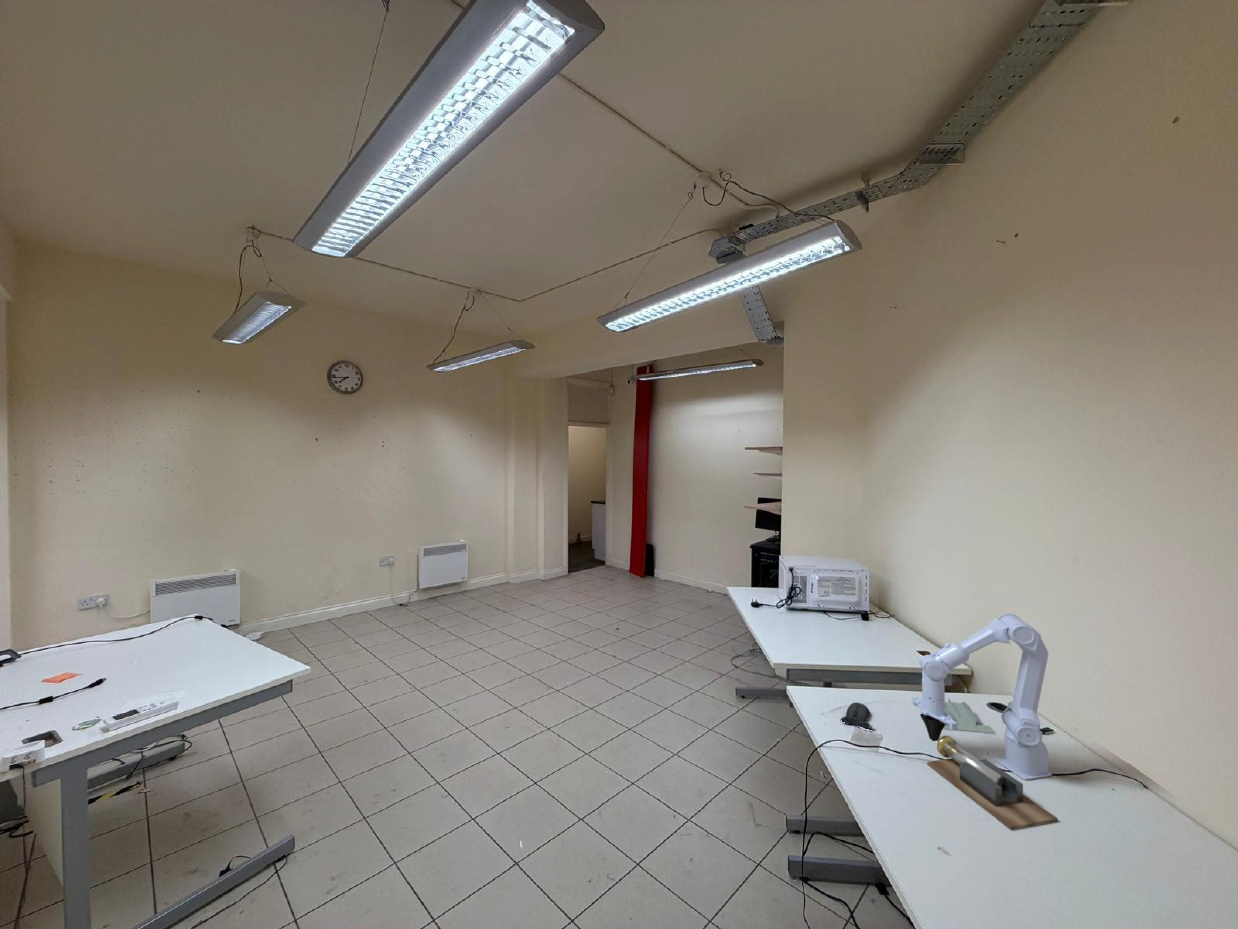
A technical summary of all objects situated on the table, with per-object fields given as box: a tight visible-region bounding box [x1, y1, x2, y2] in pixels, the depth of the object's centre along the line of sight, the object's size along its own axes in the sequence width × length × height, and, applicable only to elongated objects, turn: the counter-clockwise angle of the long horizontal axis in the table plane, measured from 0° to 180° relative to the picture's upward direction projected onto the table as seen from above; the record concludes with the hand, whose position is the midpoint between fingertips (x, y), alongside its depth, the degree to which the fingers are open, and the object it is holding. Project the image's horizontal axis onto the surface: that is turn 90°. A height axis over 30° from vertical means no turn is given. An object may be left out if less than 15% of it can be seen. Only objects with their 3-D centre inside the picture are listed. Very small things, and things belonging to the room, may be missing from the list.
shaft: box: [936, 735, 1004, 787], centre depth 126 cm, size 6×16×6 cm, turn 10°
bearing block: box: [959, 758, 1024, 807], centre depth 120 cm, size 9×10×5 cm
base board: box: [926, 757, 1059, 831], centre depth 121 cm, size 14×24×1 cm, turn 10°
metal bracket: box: [943, 698, 995, 735], centre depth 153 cm, size 14×6×15 cm
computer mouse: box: [839, 702, 874, 731], centre depth 156 cm, size 10×15×4 cm
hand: (934, 739), depth 137 cm, fingers closed
